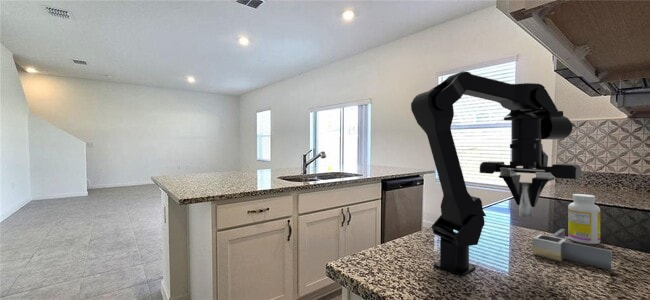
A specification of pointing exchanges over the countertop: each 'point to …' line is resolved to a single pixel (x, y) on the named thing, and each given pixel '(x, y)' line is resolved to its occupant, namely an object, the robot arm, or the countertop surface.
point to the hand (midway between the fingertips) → (526, 205)
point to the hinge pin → (525, 200)
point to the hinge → (570, 250)
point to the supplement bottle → (584, 219)
